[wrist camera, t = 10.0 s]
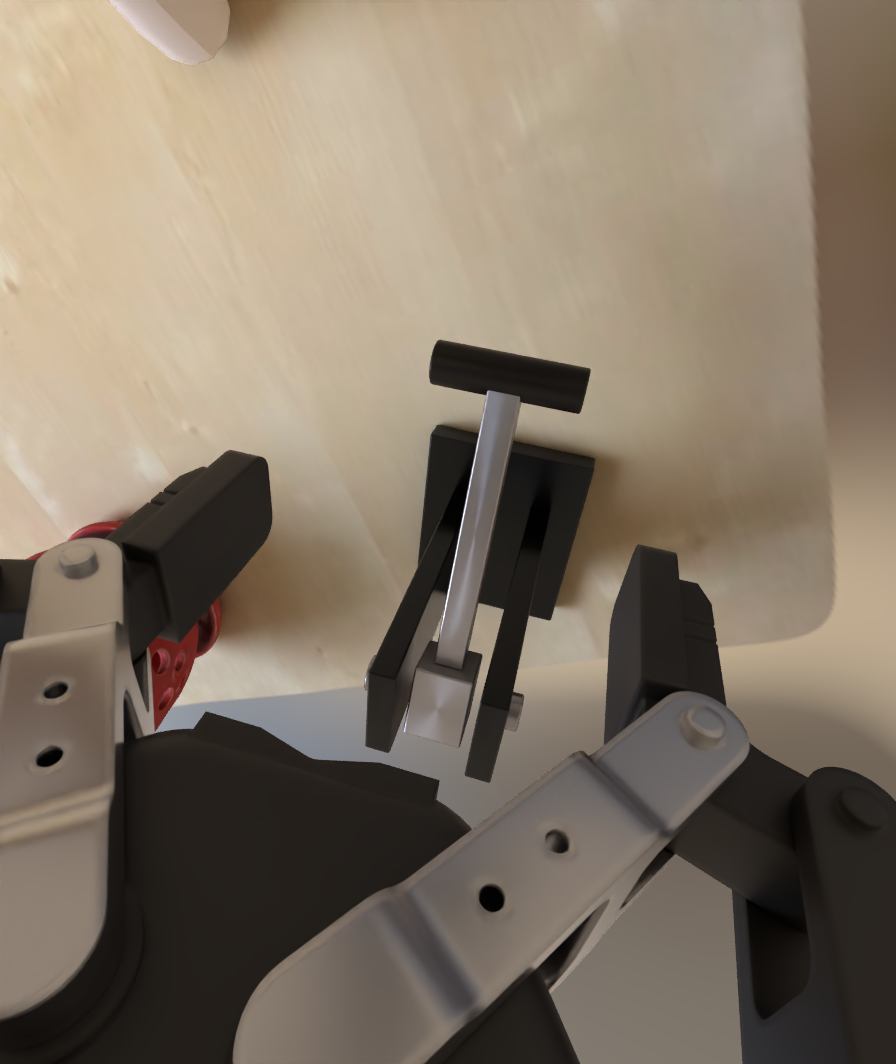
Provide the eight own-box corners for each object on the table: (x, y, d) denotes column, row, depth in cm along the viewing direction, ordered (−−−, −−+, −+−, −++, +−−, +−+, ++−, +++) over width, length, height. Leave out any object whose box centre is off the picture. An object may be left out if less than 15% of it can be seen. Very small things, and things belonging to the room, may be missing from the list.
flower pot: (277, 619, 42) (172, 769, 32) (163, 660, 48) (47, 797, 39) (143, 466, 37) (-27, 591, 27) (35, 534, 43) (-133, 655, 34)
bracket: (436, 424, 31) (325, 602, 20) (595, 457, 29) (572, 666, 18) (420, 574, 36) (329, 776, 25) (552, 607, 35) (516, 833, 24)
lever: (445, 340, 21) (430, 338, 19) (590, 368, 20) (592, 369, 18) (386, 690, 25) (367, 722, 23) (503, 722, 25) (495, 759, 22)
